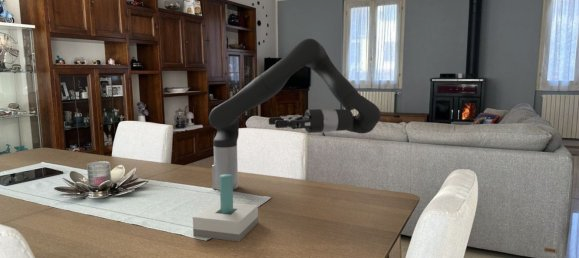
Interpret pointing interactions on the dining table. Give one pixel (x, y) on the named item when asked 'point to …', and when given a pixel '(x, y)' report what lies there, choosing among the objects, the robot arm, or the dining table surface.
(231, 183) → the pin
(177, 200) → the dining table surface
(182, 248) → the dining table surface
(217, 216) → the block
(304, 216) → the dining table surface
